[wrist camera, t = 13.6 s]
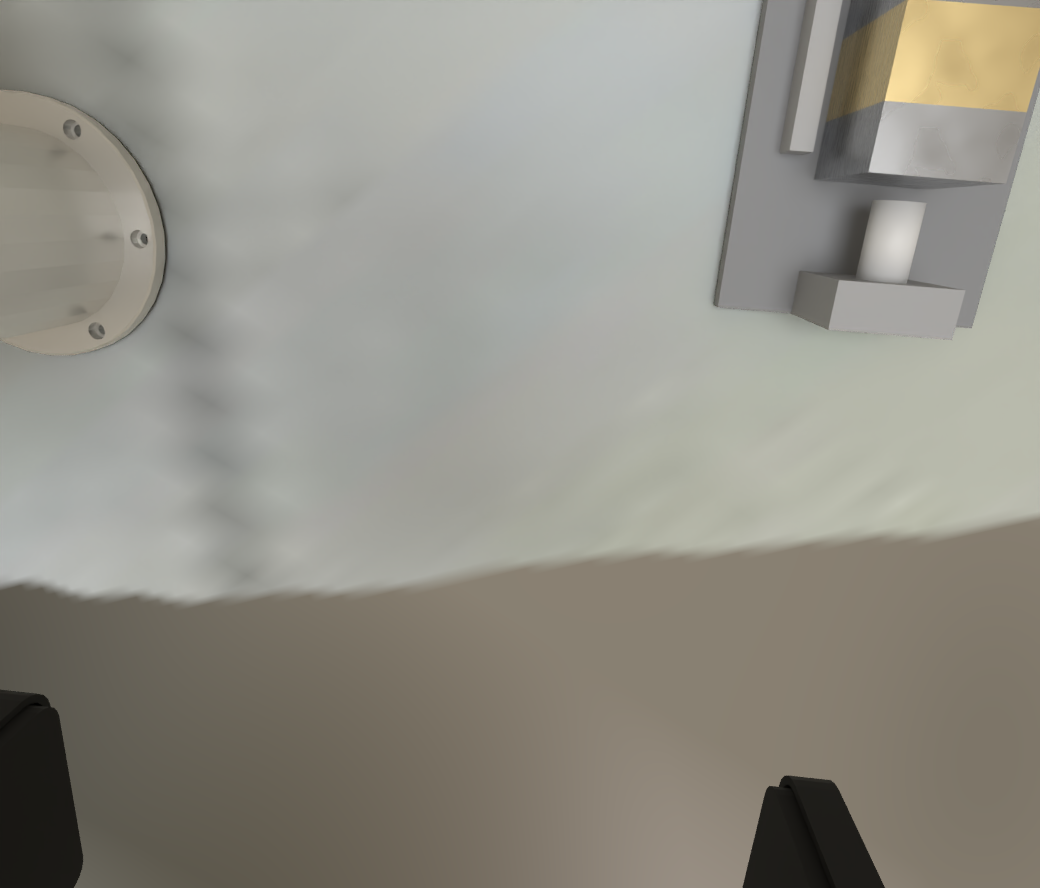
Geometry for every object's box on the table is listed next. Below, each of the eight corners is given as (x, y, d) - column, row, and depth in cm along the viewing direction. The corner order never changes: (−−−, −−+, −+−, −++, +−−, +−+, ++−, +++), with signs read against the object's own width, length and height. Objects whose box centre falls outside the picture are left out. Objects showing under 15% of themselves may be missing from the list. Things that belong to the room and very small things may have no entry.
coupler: (856, -25, 29) (927, -85, 23) (978, -16, 28) (1080, -74, 23) (813, 179, 31) (868, 172, 26) (925, 189, 31) (1005, 183, 25)
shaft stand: (960, 324, 34) (1039, 347, 28) (713, 304, 34) (742, 322, 29) (1099, -179, 27) (1238, -282, 22) (794, -195, 28) (852, -300, 22)
